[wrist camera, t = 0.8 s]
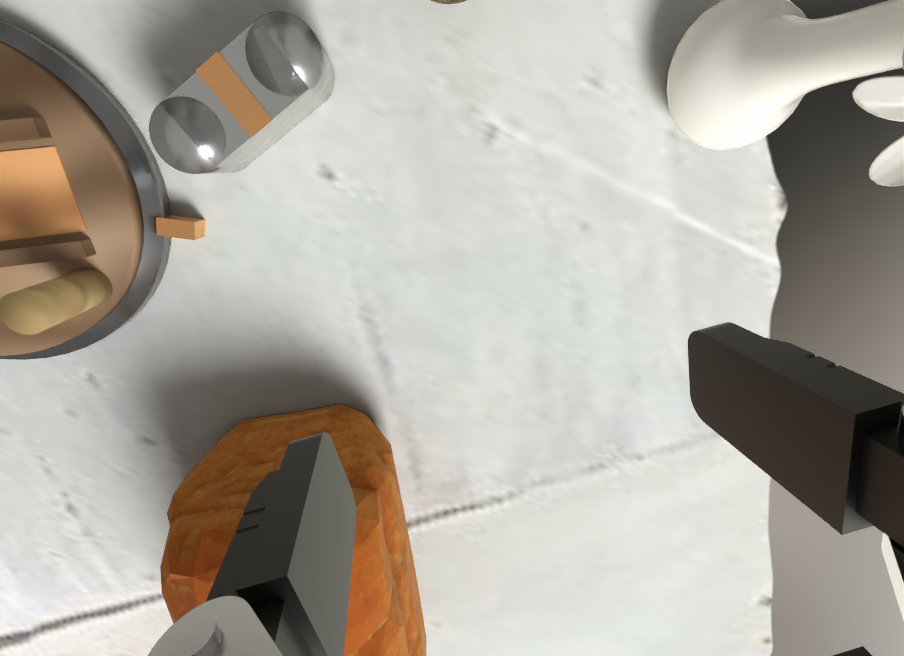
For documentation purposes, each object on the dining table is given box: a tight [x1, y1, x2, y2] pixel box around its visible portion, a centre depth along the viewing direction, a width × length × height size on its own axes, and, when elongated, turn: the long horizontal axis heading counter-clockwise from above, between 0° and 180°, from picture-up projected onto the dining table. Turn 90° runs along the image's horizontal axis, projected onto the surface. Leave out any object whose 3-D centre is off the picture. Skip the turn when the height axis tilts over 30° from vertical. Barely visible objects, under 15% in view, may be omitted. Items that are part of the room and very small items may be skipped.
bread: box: [161, 404, 426, 656], centre depth 36 cm, size 16×27×16 cm, turn 6°
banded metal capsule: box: [149, 12, 334, 174], centre depth 28 cm, size 4×11×6 cm, turn 126°
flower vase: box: [667, 0, 904, 186], centre depth 22 cm, size 13×18×25 cm
